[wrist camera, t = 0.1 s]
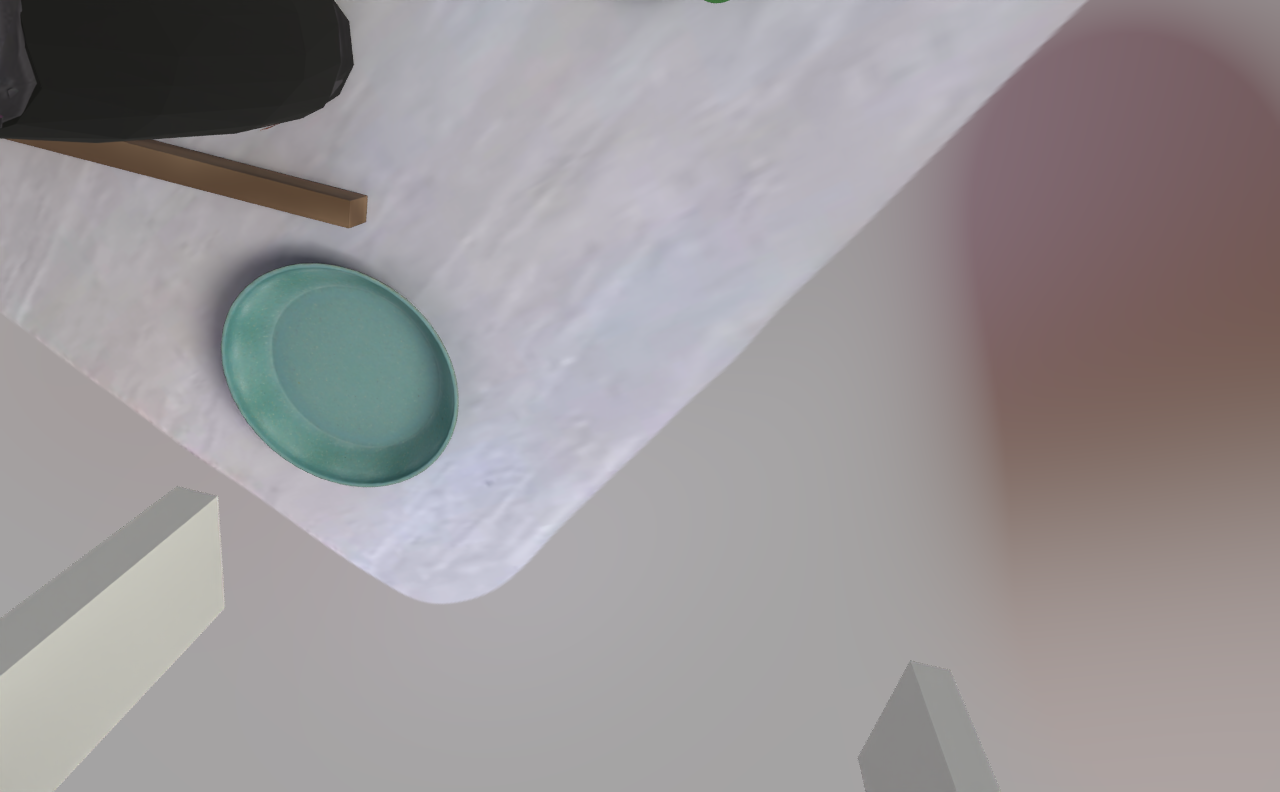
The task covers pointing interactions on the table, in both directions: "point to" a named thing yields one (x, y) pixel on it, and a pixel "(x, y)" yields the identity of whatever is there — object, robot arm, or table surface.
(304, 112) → the portable speaker
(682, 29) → the table surface
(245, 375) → the saucer
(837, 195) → the table surface
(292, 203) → the rail track
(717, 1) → the clamp
